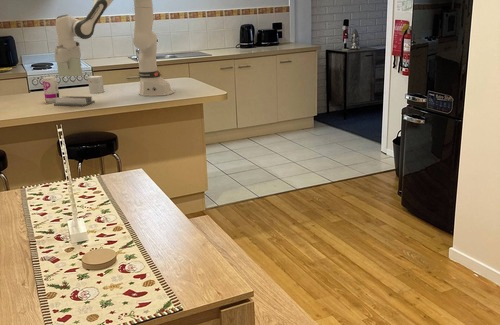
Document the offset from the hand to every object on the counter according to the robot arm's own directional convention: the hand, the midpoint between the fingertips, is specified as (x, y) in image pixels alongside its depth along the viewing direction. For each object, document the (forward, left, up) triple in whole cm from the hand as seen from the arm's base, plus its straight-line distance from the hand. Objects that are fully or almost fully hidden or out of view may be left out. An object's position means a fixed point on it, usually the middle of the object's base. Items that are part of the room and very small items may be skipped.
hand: (69, 68), depth 312 cm
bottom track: (0, 0, -21) cm, 21 cm away
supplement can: (+18, -4, -21) cm, 28 cm away
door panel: (0, 0, -4) cm, 4 cm away
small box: (+8, -37, -21) cm, 43 cm away
